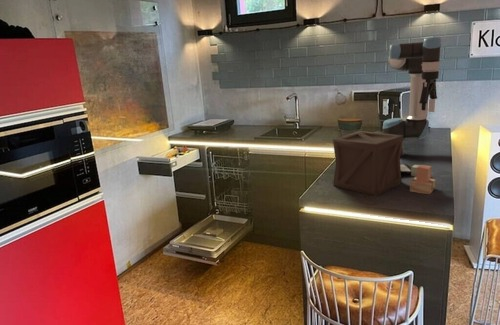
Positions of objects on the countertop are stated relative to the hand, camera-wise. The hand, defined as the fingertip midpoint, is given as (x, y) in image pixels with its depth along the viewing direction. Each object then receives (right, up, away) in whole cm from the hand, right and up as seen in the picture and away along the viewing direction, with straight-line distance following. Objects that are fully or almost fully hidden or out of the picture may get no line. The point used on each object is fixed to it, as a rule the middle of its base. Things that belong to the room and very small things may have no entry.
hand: (427, 114), depth 191 cm
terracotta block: (-6, -33, -7) cm, 34 cm away
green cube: (+2, -31, +15) cm, 35 cm away
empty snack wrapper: (-12, -29, +29) cm, 43 cm away
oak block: (-5, -38, -6) cm, 39 cm away
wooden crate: (-28, -36, +7) cm, 46 cm away
